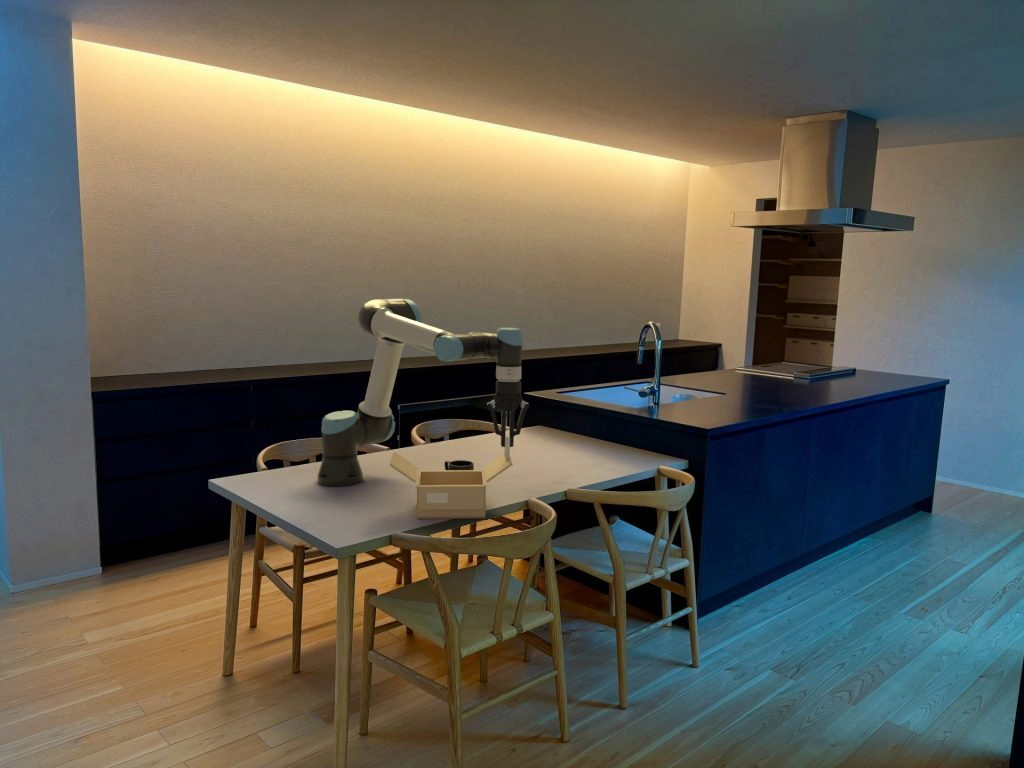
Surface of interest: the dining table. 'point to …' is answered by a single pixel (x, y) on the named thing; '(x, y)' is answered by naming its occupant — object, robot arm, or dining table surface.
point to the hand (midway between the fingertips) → (506, 457)
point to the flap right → (497, 467)
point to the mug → (459, 465)
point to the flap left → (404, 467)
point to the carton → (451, 494)
